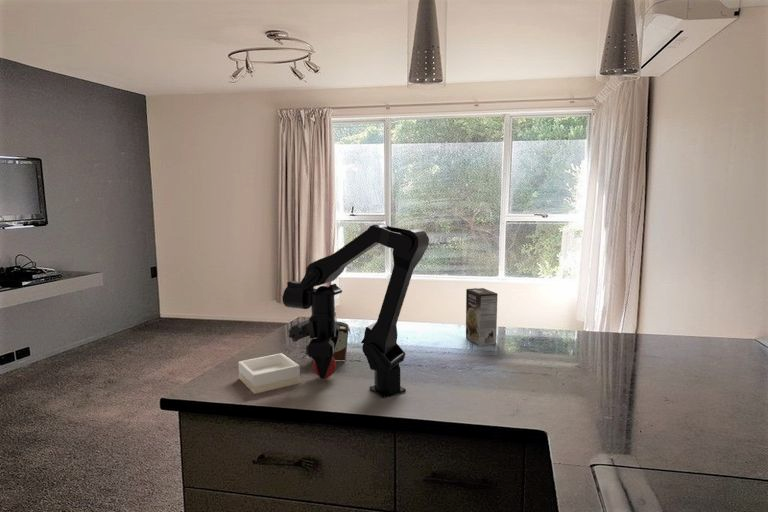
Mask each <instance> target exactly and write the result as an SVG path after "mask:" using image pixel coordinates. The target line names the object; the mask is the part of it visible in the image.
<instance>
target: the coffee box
mask: <svg viewBox="0 0 768 512" xmlns="http://www.w3.org/2000/svg"><path fill="white" fill-rule="evenodd" d="M465 291H466V292H465V293H466V295H465V296H466V297H465V302H466V303H465V338H466V339H467V340H469V341H471V342H472V343H474V344H475V345H477V346H479V347H480V346H487V345H488V346H490V345H496V344H497V323H498V321H497V319H498V293H497V292H495V291H492V290H489V289H486V288H485V287H480V288H479V287H478V288H477V287H475V288H466V290H465Z"/></svg>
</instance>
